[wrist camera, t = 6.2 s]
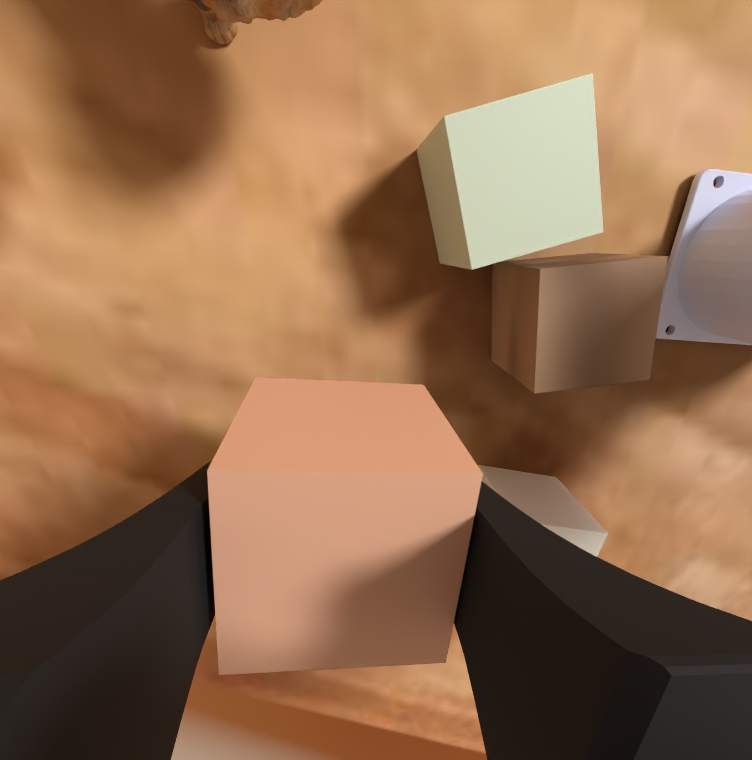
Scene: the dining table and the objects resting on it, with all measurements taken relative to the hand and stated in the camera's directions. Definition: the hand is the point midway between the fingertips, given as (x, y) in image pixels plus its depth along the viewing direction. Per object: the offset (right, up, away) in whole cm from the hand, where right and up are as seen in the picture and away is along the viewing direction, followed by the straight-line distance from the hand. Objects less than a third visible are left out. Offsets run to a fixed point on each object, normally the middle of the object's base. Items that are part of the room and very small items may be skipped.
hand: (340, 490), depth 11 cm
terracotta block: (0, +1, +2) cm, 2 cm away
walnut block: (+9, +7, +10) cm, 15 cm away
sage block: (+6, +12, +8) cm, 15 cm away
